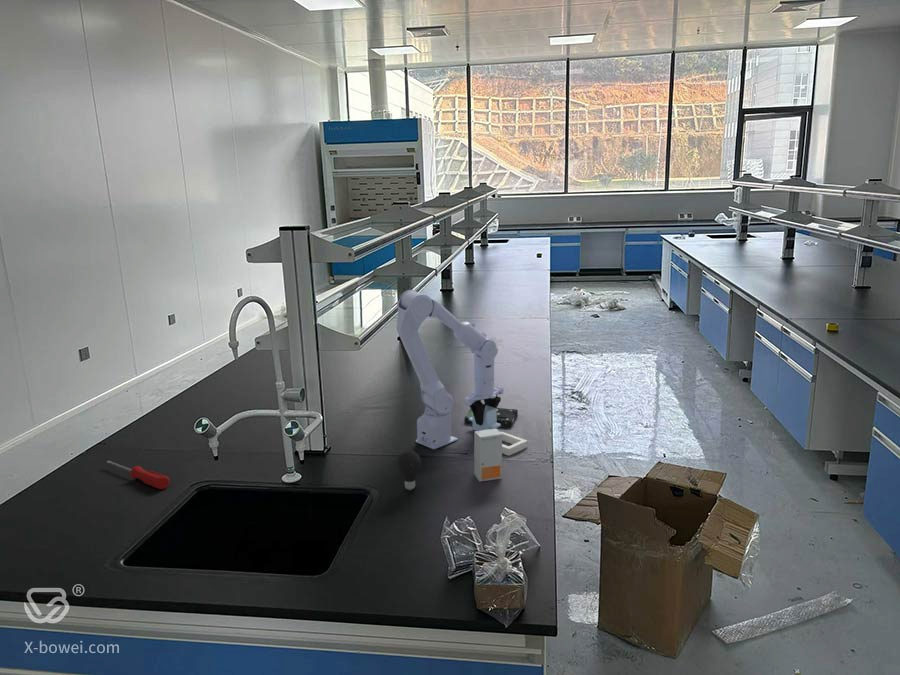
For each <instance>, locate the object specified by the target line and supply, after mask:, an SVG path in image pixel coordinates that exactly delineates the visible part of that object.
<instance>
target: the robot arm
mask: <svg viewBox="0 0 900 675" xmlns="http://www.w3.org/2000/svg"><path fill="white" fill-rule="evenodd" d="M396 307H397V317H396V332H397V333H398V334H397V335H398V336H399V338H400V340H401V342H402V345H403V347H404V349H405V351H406V354H407V356H408V359H409V360H410V363H411V365H412V368H413V370H414V372H415V373H416V375H417V379H418V380H419V382H420V386H419V389H420V390H421V400H422V402H423V404H424V405H425V407H424V413H423V414H422V415H421V416H419V417H418V418H417V420H416V437H417V438H416V440H415V443H417V444H420V445H422V446H425V447H427V448H429V449H432V450H436V449H438V448H441V447H444V446H447V445H448V444H451V443H453V442H456V441H458V437H455V436H452V426H451V425H452V421H451V419H452V418H451V415H452V414H451V412H452V410H453V407H454V405H455V402H454V401H455V400H454V397H453V396H452V394H450V393H448V391H447V389H446V388H445V386H444V385H443V383H442V382H441V381H440V379H439V377H438V375H437V373H436V370H435V368H434V365H433V364H432V361H431V359H430V356H429V354H428V352H427V349H426V347H425V346H424V342H423V340H422V338H421V336H420V333H419V332H418V331H419V329H420V326H421V325H422V324H423V322H425V320H426V319H427V318H428V317H430V318H436V319H437V320H438V321H439V322H441V323H442V324H445V325H446V327H448V328H450V329H451V330H453V335H454V338H455V339H456V340H458V342H460V343H461V344H463V345H464V346H465V348H466V347H467V349H469V350H470V351H471V353H472V354H474V356H473V357H474V358H473V359H474V362H473V364H474V365H473V366H474V368H473V369H474V371H473V373H474V375H473V376H474V380H473V382H474V391H473V392H472V393H471V394H469V395H467V396H466V397H464V405H466V406H469V408H470V409H471V410H472V412H473V415H474V418H475V422H476V424H478V425H482V424H483V414H484V410H485V407H486V405H488V406H491V407H494V408H498V406H499V404H500V402H501V400H502V398H501V396H499V395H503V394H504V387H502V386H499V385H498V386H495V359H496V356H497V355H498V352H499V348H498V347H497V343H496V342H495V341H494V340H492V339H490V338H487V334H486V333H485V332H481V331H480V330H479V329H477V328H476V324H475V323H474V322H471V321H470V322H469V321H461V320H459V319H458V318H457V317H456V316H454V314H452V313H451V312H450V311H449V310H448V309H446V307H445V306H443V305H442V304H441V303H440V302H438V301H437V300H435V299H433V298H431V297H430V296H428V295H426V294H424V293H423V294H422V293H420V292H418V291H417V290H414V289H408V290H405V291H404V292H403V293H402V294H401V296H400V297H399V299H398V301H397V303H396ZM483 402H484V403H483Z"/></svg>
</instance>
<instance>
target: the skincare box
mask: <svg viewBox="0 0 900 675" xmlns="http://www.w3.org/2000/svg"><path fill="white" fill-rule="evenodd" d="M473 432H474V434H473V436H474V441H473V442H474V444H473V445H474V447H473V449H474V451H473V452H474V454H473V456H474V458H473V459H474V466H473V470H474V473H473V475H474V476H475V478H476V479H477V480H478V482H479V483H480V482H486V481H493V480H501V479H502V477H503V476H502V475H503V474H502V471H503V470H502V469H503V468H502V467H503V466H502V465H503V453H502V444H503V440H502V434H501V433H500V432H501V431H499V429H498V428H497V429H490V430H482V431H476V430H474V431H473Z"/></svg>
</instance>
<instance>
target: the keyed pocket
mask: <svg viewBox="0 0 900 675" xmlns="http://www.w3.org/2000/svg"><path fill="white" fill-rule="evenodd" d="M499 432H500V433H501V434H502V442H505V443H509V444H511V445H509V446H508V445H506V444H503V443H502V455H505V456H509V457H510V456H512V455H514V454H516V453H518V452H520V451H522V450H525V449H527V448H528V440H527V439H524V438H521V437H518V436H515V435H512V434H510V433H507V432H504V431H499Z"/></svg>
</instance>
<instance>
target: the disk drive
mask: <svg viewBox="0 0 900 675" xmlns="http://www.w3.org/2000/svg"><path fill="white" fill-rule="evenodd" d="M518 412H519V410H518V409H514V408H501V407H497V423H499V424H501V426H499V427H500V428H510V429H511V428H512V427H513V425H514V423H515V422H516V420H517V417H519V415H518V414H519V413H518ZM471 417H472V410H471V408H470V409H468V412H467V413H466V415H465V416H464V420H463V422H464V424H468V425H469V424H470V425H473V422H472V421H470V420H469V418H471ZM499 427H498V428H499Z"/></svg>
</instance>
